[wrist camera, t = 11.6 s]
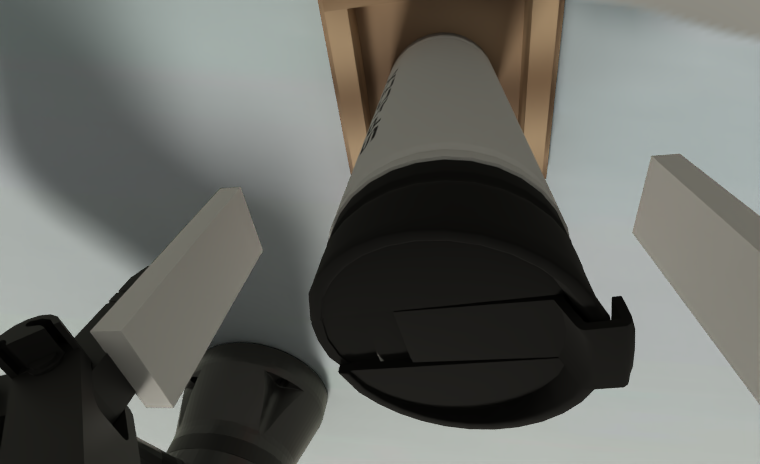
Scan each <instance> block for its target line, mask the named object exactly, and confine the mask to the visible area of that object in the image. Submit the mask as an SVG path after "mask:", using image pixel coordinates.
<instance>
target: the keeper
mask: <svg viewBox="0 0 760 464" xmlns="http://www.w3.org/2000/svg"><path fill="white" fill-rule="evenodd" d="M564 3H565V0H318V4H319V9H320V15H321V20H322V25H323V31H324V36H325V41H326V46H327V52H328V57H329V62H330V67H331V73H332V78H333V83H334V88H335V94H336V99H337V104H338V109H339V115H340V120H341V125H342V131H343V136H344V141H345V146H346V152H347V157H348V162H349V167H350V173H351V174H352V171H353V169H354V166H355V164H356V161H357V158H358V156H359V153H360V151H361V148H362V145H363V143H364V140H365V137H366V135H367V132H368V130H369V127H370V124H371V122H372V119H373V117H374V114H375V111H376V109H377V106H378V104H379V101H380V98H381V96H382V93H383V90H384V88H385V85H386V83H387V80H388V77H389V75H390V72H391V70H392V67H393V65H394V63H395V61H396V60H397V58H398V57H399V55H400V54H401V52H402V51H403V50H404V49H405V48H406V47H407V46H408V45H410V44H411V43H413V42H414V41H416V40H417V39H419V38H421V37H424V36H426V35H428V34H433V33H439V32H448V33H455V34H459V35H462V36H464V37H466V38H468V39H470V40H472V41H473V42H475V43H476V44H477V45H478V46H480V47H481V49H482V50H483V51H484V52H485V54H486V55H487V57H488V59H489V61H490V63H491V65H492V67H493V69H494V71H495V74H496V76H497V78H498V80H499V82H500V84H501V86H502V88H503V91H504V93H505V95H506V97H507V99H508V101H509V103H510V106H511V108H512V110H513V112H514V114H515V116H516V118H517V121H518V123H519V125H520V127H521V129H522V131H523V133H524V135H525V138H526V140H527V142H528V144H529V146H530V148H531V150H532V153H533V155H534V157H535V159H536V161H537V163H538V165H539V168H540V170H541V172H542V174H543V176H544V178H545V179H546V174H547V165H548V155H549V146H550V136H551V127H552V117H553V108H554V98H555V89H556V79H557V70H558V60H559V51H560V41H561V32H562V22H563V13H564Z"/></svg>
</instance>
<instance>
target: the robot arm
mask: <svg viewBox="0 0 760 464" xmlns="http://www.w3.org/2000/svg"><path fill="white" fill-rule="evenodd" d="M632 233H633V234H634V236H635V237H636V238H637V240H638V241H639V242H640V244H641V245H642V246H643V248H644V249H645V250H646V252H647V253H648V254H649V256H650V257H651V258H652V260H653V261H654V263H655V264H656V265H657V267H658V268H659V269H660V271H661V272H662V273H663V275H664V276H665V277H666V279H667V280H668V281H669V283H670V284H671V285H672V287H673V288H674V289H675V291H676V292H677V294H678V295H679V296H680V298H681V299H682V300H683V302H684V303H685V304H686V306H687V307H688V308H689V310H690V311H691V312H692V314H693V315H694V316H695V318H696V319H697V321H698V322H699V323H700V325H701V326H702V327H703V329H704V330H705V331H706V333H707V334H708V335H709V337H710V338H711V339H712V341H713V342H714V343H715V345H716V346H717V348H718V349H719V350H720V352H721V353H722V354H723V356H724V357H725V358H726V360H727V361H728V362H729V364H730V365H731V366H732V368H733V369H734V370H735V372H736V373H737V375H738V376H739V377H740V379H741V380H742V381H743V383H744V384H745V385H746V387H747V388H748V389H749V391H750V392H751V393H752V395H753V396H754V397H755V399H756V400H757V401H758V403H759V404H760V216H759V215H758V214H756V213H755V212H754V211H753V210H751V209H750V208H749V207H747V206H746V205H745V204H744V203H742V202H741V201H740V200H738V199H737V198H736V197H735V196H733V195H732V194H731V193H729V192H728V191H727V190H726V189H724V188H723V187H722V186H720V185H719V184H718V183H717V182H715V181H714V180H713V179H711V178H710V177H709V176H708V175H706V174H705V173H704V172H702V171H701V170H700V169H699V168H697V167H696V166H695V165H694V164H692V163H691V162H690V161H688V160H687V159H686V158H685V157H683V156H682V155H681V154H670V155H657V156H651V160H650V164H649V168H648V172H647V176H646V180H645V184H644V188H643V192H642V196H641V200H640V204H639V208H638V212H637V216H636V220H635V224H634V228H633V232H632ZM262 252H263V249H262V246H261V243H260V240H259V238H258V235H257V232H256V229H255V226H254V224H253V221H252V218H251V215H250V212H249V209H248V207H247V204H246V201H245V198H244V195H243V193H242V190H241V187H233V188H220V189H219V190H218V191H217V192H216V194H215V195H214V196H213V197H212V198H211V199H210V200H209V201H208V202H207V203H206V205H205V206H204V207H203V208H202V209H201V210H200V211H199V212H198V213H197V214H196V216H195V217H194V218H193V219H192V220H191V221H190V222H189V223H188V224H187V225H186V226H185V228H184V229H183V230H182V231H181V232H180V233H179V234H178V235H177V236H176V237H175V239H174V240H173V241H172V242H171V243H170V244H169V245H168V246H167V247H166V248H165V250H164V251H163V252H162V253H161V254H160V255H159V256H158V257H157V258H156V259H155V261H154V262H153V263H152V264H151V265H150V266H147V267H146V268H144V269H143V270H141V271H140V272H138V273H137V274H135V275H134V276H132V277H131V278H130V279H129V280H128V281H127V282H126V283H125V284H124V285H123V287H122V288H121V289H120V290H119V293H116V294H115V295H114V296H113V297H112V298H111V299H110V300H109V304H106V305H105V306H104V307H103V308H102V309H101V310H100V311H99V312H98V313H97V314H96V315H95V316H94V318H93V319H92V320H91V321H90V322H89V323H88V324H87V325H86V326H85V327H84V328H83V329H82V330H81V331H80V332H79V334H78V335H77V336H76V337H75V338H74V337H73V336H72V334H71V333H70V332H69V331H68V329H67V328H66V327H65V325H64V324H63V323H62V322H61V320H60V319H59V318H58V317H57V316H54V315H51V314H50V315H41V316H37V317H34V318H31V319H28V320H25V321H23V322H21V323H19V324H17V325H15V326H13V327H12V328H10V329H9V330H7V331H6V332H5V333H3V334H2V335H0V368H1V369H2V370H3V371H4V372H5V373H6V375H2V376H0V464H297V462H298V460H299V459H300V457H301V456H302V454H303V452H304V451H305V449H306V448H307V446H308V444H309V443H310V441H311V440H312V438H313V436H314V435H315V433H316V432H317V430H318V428H319V427H320V425H321V422H322V420H323V416H324V412H325V408H326V404H327V392H326V389H325V386H324V384H323V382H322V381H321V379H320V378H319V377H318V376H317V374H316V373H315V372H314V371H313V370H312V369H310V368H309V367H308V366H307V365H305V364H304V363H303V362H301V361H300V360H298V359H296V358H295V357H293V356H291V355H289V354H287V353H284V352H282V351H279V350H277V349H274V348H270V347H267V346H263V345H258V344H251V343H228V344H222V345H218V346H215V347H212V348H210V349H208V350H207V348H208V347H209V345H210V343H211V341H212V340H213V338H214V336H215V334H216V333H217V331H218V329H219V327H220V326H221V324H222V322H223V320H224V319H225V317H226V315H227V313H228V312H229V310H230V308H231V306H232V304H233V303H234V301H235V299H236V297H237V296H238V294H239V292H240V290H241V289H242V287H243V285H244V283H245V282H246V280H247V278H248V276H249V275H250V273H251V271H252V269H253V268H254V266H255V264H256V262H257V261H258V259H259V257H260V255H261V254H262ZM206 350H207V351H206ZM184 389H185V390H184ZM183 391H184V395H183V400H182V405H181V410H180V415H179V420H178V425H177V430H176V434H175V437H174V439H173V441H172V443H171V445H170V447H169V449H168V450H167V452H164V451H162V450H160V449H158V448H156V447H155V446H153V445H151V444H149V443H147V442H145V441H143V440H142V439H140V438H138V437H136V431H135V425H134V419H133V414H132V412H131V410H130V409H129V407H128V406H127V405H128V403H129V402H130V400H131V399H132V397H133V396H134V394H135V393H136V395H137V396H138V397H139V399H140V400H141V401H142V403H143V404H144V405H145V407H146V408H174V406H175V405H176V403H177V401H178V399H179V398H180V396H181V394H182V392H183Z"/></svg>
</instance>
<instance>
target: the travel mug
mask: <svg viewBox="0 0 760 464" xmlns="http://www.w3.org/2000/svg"><path fill="white" fill-rule="evenodd" d="M309 307H310V320H311V321H312V323H311V324H312V326H313V329H314V331H315V334H316V336H317V339H318V341H319V343H320V344H321V346H322V347H323V349H324V350H325V351H326V353H327V354H328V356H329V357H330V358H331V359H333V360H334V361H335V362H337V363H338V364H339V365H340V367H339V371H338V372H339V374H340V375H342V376H343V377H344V378H345V379H346V380H347V381H348V382H349V383H350V384H351V385H352V386H353V387H354V388H355V389H356V390H357V391H358V392H359V393H361V394H363V395H364V396H366V397H368V398H369V399H371V400H373V401H375V402H376V403H378V404H380V405H382V406H384V407H386V408H389V409H391V410H393V411H395V412H398V413H400V414H403V415H406V416H409V417H412V418H415V419H418V420H421V421H425V422H429V423H434V424H438V425H443V426H448V427H457V428H465V429H504V428H514V427H521V426H525V425H530V424H534V423H538V422H542V421H545V420H547V419H550V418H552V417H555V416H558V415H560V414H563V413H564V412H566V411H568V410H569V409H571V408H572V407H574V406H576V405H577V404H579V403H581V402H582V401H583V400H584V399H585V398H586V397H587V396H588V395H589V394H590V393H591V392H592V391H593V390H594V389H604V388H619V387H625V386H626V385H628V382H629V377H630V373H631V370H632V367H633V360H634V351H635V327H634V323H633V319H632V316H631V314H630V312H629V310H628V307H627V306H626V304H625V302H624V300H623V298H622V296H617V297H612V317H611V320H610V316H609V314H608V313H607V312H606V310H605V309H604V307H603V306H602V305H601V303H600V302H599V301H598V299H597V298H596V296H595V294H594V292H593V290H592V288H591V286H590V284H589V281H588V279H587V277H586V275H585V272H584V270H583V267H582V264H581V262H580V260H579V258H578V255H577V253H576V251H575V249H574V247H573V245H572V243H571V240H570V238H569V233H568V227H567V225H566V223H565V221H564V219H563V217H562V215H561V213H560V211H559V208H558V206H557V204H556V202H555V200H554V197H553V195H552V193H551V191H550V189H549V187H548V185H547V183H546V180H545V178H544V176H543V174H542V172H541V170H540V168H539V165H538V163H537V161H536V159H535V157H534V155H533V153H532V150H531V148H530V146H529V144H528V142H527V140H526V138H525V135H524V133H523V131H522V129H521V127H520V125H519V123H518V121H517V118H516V116H515V114H514V112H513V110H512V108H511V106H510V103H509V101H508V99H507V97H506V95H505V93H504V91H503V88H502V86H501V84H500V82H499V80H498V78H497V76H496V74H495V71H494V69H493V67H492V65H491V63H490V61H489V59H488V57H487V55H486V54H485V52H484V51H483V50H482V49H481V47H480V46H478V45H477V44H476V43H475V42H473V41H472V40H470V39H468V38H466V37H464V36H462V35H459V34H455V33H448V32H439V33H433V34H428V35H426V36H424V37H421V38H419V39H417V40H416V41H414V42H413V43H411V44H410V45H408V46H407V47H406V48H405V49H404V50H403V51H402V52H401V54H400V55H399V57H398V58H397V60H396V61H395V63H394V65H393V67H392V70H391V72H390V75H389V77H388V80H387V83H386V85H385V88H384V90H383V93H382V96H381V98H380V101H379V104H378V106H377V109H376V111H375V114H374V117H373V119H372V122H371V124H370V127H369V130H368V132H367V135H366V137H365V140H364V143H363V145H362V148H361V151H360V153H359V156H358V158H357V161H356V164H355V166H354V169H353V171H352V174H351V177H350V179H349V182H348V185H347V187H346V190H345V192H344V195H343V198H342V200H341V203H340V205H339V208H338V211H337V214H336V217H335V219H334V221H333V224H332V226H331V229H330V234H329V240H328V243H327V247H326V250H325V252H324V254H323V256H322V259H321V262H320V265H319V267H318V270H317V273H316V275H315V278H314V281H313V284H312V286H311V289H310V291H309Z"/></svg>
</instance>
